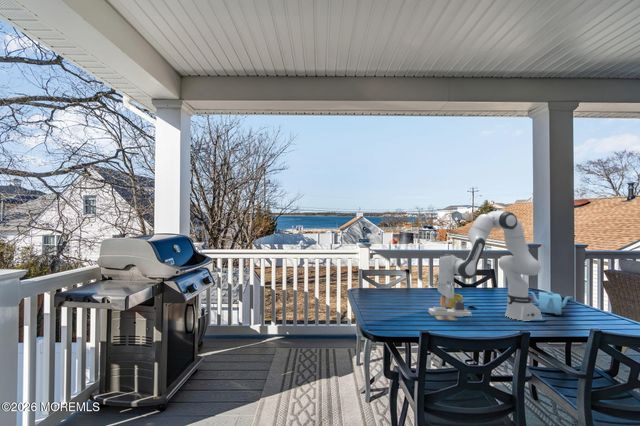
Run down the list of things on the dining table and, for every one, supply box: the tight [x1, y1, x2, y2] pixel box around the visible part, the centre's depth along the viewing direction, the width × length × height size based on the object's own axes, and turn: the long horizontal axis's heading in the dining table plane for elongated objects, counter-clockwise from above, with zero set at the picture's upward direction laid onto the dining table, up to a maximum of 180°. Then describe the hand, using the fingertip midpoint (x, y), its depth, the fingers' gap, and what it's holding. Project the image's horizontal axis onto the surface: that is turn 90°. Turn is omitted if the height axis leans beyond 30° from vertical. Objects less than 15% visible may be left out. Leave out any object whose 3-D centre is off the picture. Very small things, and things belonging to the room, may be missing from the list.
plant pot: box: [447, 293, 464, 309], centre depth 229 cm, size 10×10×10 cm
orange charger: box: [439, 295, 450, 308], centre depth 207 cm, size 5×4×8 cm
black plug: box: [454, 299, 465, 310], centre depth 216 cm, size 5×4×8 cm
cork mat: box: [433, 315, 459, 321], centre depth 207 cm, size 12×7×1 cm, turn 88°
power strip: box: [427, 306, 472, 317], centre depth 216 cm, size 25×7×4 cm, turn 88°
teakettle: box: [528, 290, 573, 315], centre depth 226 cm, size 25×25×15 cm
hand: (445, 302), depth 207 cm, fingers closed on orange charger, 4 cm apart
